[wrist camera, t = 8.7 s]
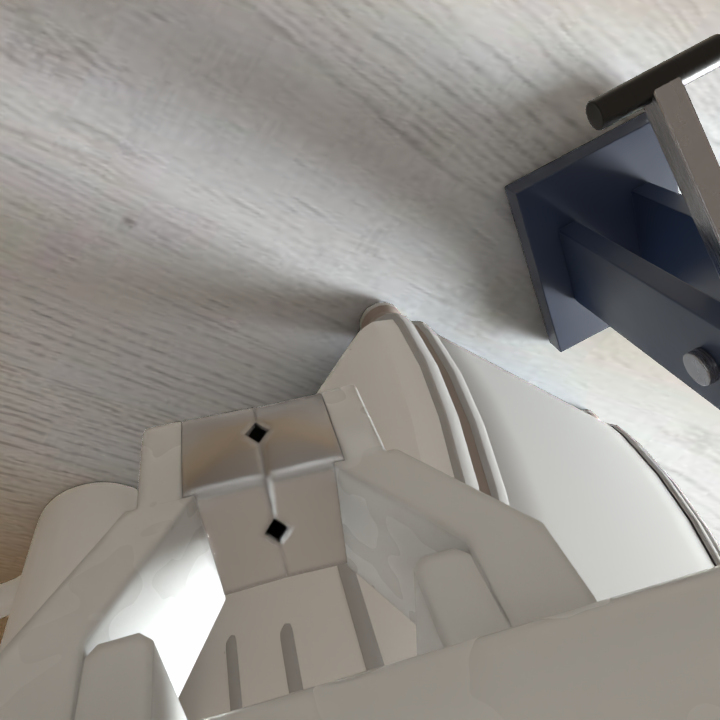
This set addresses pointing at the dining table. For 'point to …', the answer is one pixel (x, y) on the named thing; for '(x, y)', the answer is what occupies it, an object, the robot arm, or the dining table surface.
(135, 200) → the dining table surface
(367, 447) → the robot arm
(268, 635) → the toaster
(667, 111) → the lever
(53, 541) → the mug
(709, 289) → the bracket
